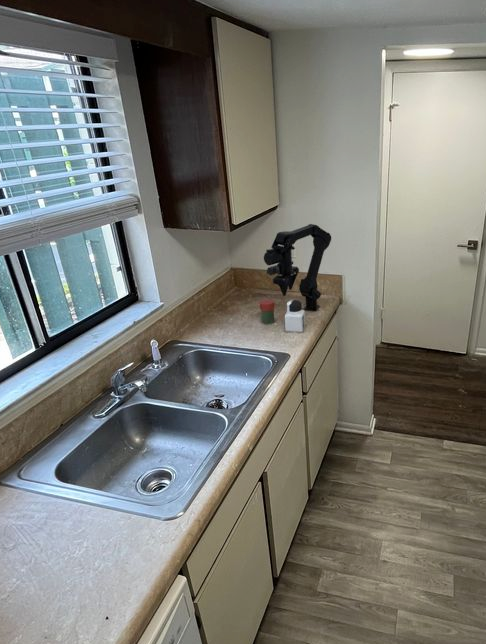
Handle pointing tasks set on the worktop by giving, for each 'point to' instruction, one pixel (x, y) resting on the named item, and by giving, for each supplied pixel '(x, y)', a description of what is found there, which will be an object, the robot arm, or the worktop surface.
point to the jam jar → (267, 316)
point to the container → (294, 317)
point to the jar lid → (267, 305)
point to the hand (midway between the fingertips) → (287, 292)
